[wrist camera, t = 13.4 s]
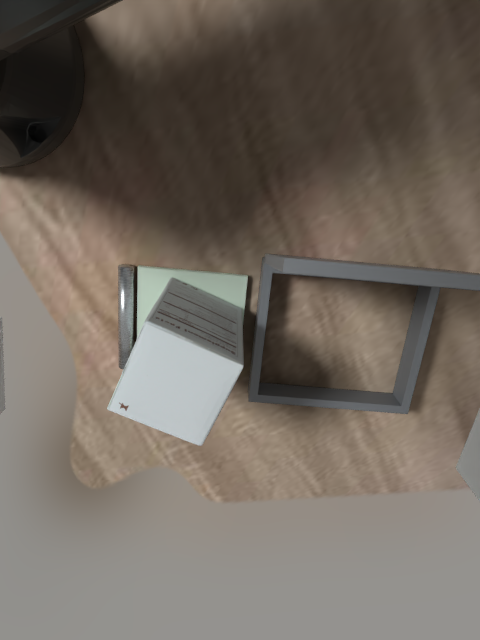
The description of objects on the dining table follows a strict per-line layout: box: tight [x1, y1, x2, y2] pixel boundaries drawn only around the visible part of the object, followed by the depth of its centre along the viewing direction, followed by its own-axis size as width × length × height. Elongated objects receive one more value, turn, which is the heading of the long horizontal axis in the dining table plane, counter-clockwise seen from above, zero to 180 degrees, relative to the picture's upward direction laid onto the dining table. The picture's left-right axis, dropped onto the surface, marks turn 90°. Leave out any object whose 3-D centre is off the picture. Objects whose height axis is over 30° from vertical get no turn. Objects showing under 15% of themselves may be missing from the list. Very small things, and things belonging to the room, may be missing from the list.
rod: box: [118, 264, 134, 369], centre depth 40 cm, size 1×10×1 cm, turn 175°
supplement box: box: [107, 277, 244, 446], centre depth 34 cm, size 7×7×13 cm
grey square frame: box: [248, 257, 441, 414], centre depth 40 cm, size 16×14×2 cm
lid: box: [264, 253, 480, 291], centre depth 30 cm, size 16×14×1 cm
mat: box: [137, 265, 248, 338], centre depth 41 cm, size 10×10×1 cm
